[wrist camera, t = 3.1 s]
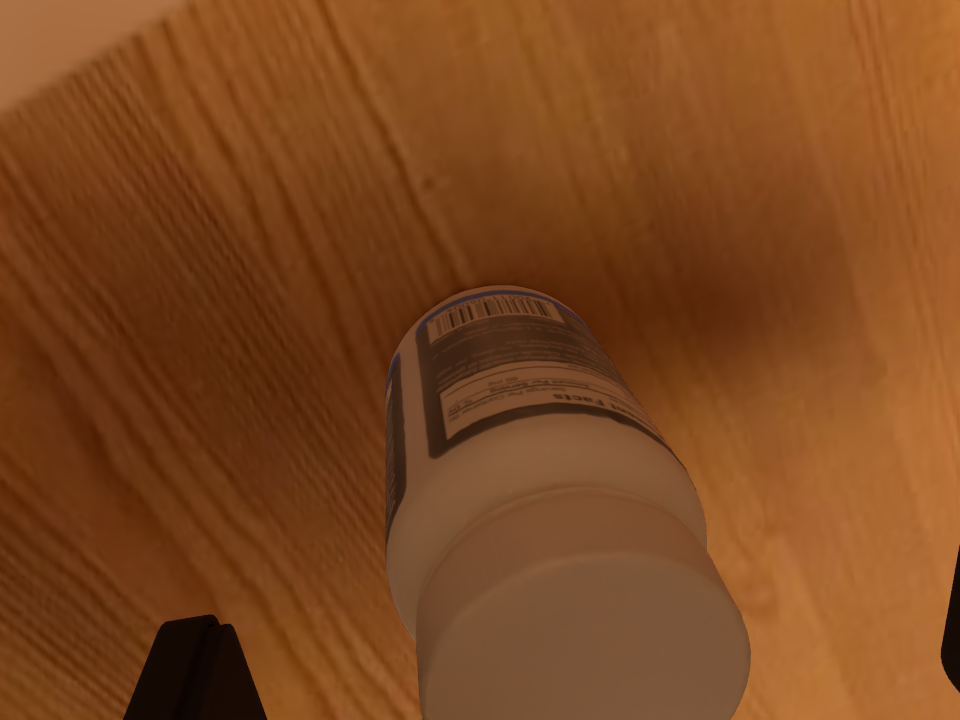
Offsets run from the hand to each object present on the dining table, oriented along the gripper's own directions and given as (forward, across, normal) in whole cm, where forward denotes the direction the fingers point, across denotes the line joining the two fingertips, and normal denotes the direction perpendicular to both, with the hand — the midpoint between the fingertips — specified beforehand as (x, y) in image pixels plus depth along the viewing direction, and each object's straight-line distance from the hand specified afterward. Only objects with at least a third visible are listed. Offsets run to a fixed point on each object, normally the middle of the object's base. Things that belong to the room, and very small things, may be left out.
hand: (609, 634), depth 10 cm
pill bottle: (+8, +1, 0) cm, 8 cm away
